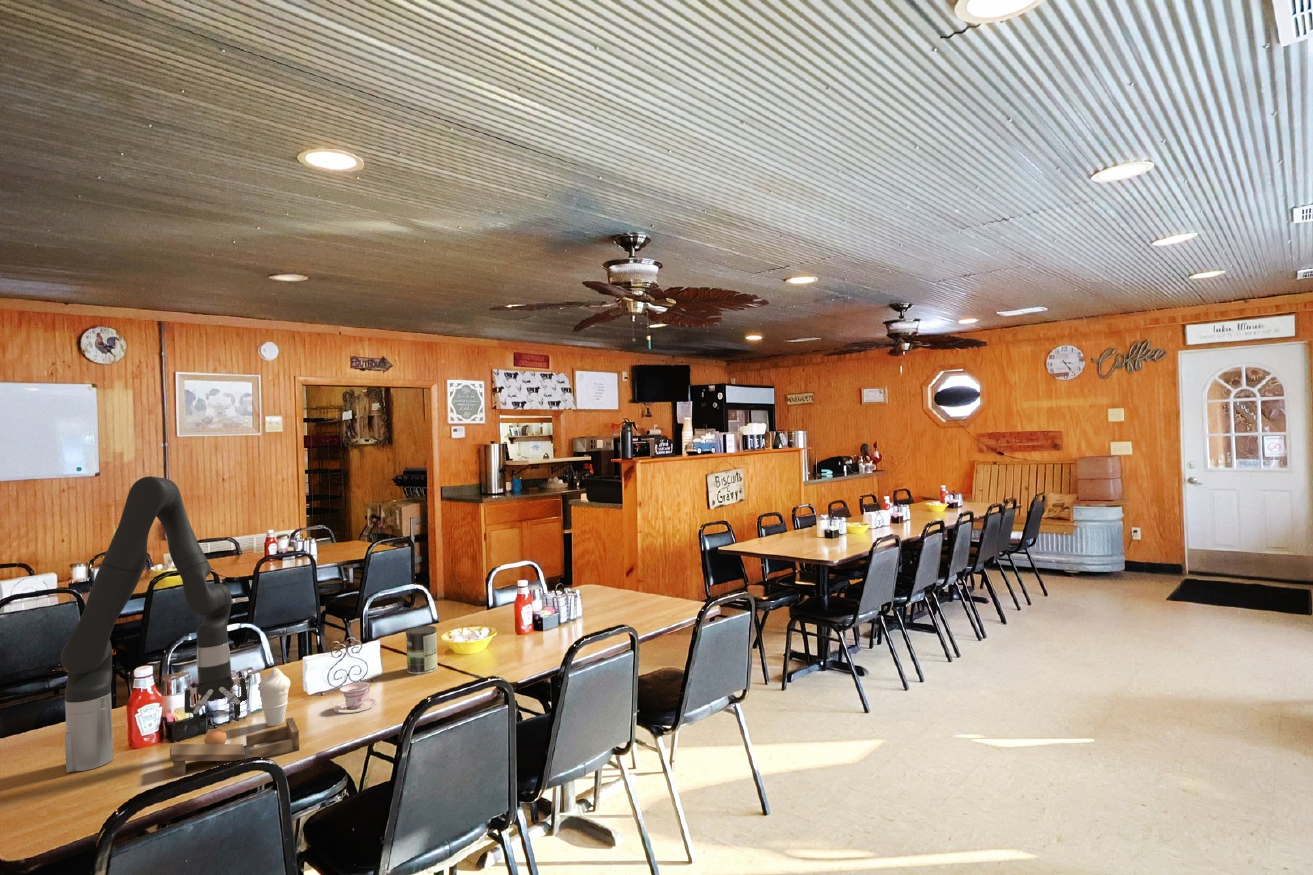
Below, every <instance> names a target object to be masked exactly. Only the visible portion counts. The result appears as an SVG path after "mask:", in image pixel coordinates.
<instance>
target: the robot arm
mask: <svg viewBox="0 0 1313 875" xmlns="http://www.w3.org/2000/svg"><path fill="white" fill-rule="evenodd" d="M156 518H157V520H159V523H160V524H161V526H162V528H163V530H164V533H165V536H166V539H167V540H166V541H167V547H168V552H169V556H170V559H171V561H172V563H173V565H174V567H175V569H176V571H177V573H178V575H179V577H180V578H181V580H182V581H181V583H182V588H183V593H184V599H185V604H186V605H187V607H188V609H189V610H190V612H192V613H193V614H195V615H197V616H201V617H202V616H204V619H203V621H202V622H201V623H200V624H199V625H198V626H197V628H196V649H197V650H196V666H197V667H196V669H197V681H198V683H197V687H192V688H190V687H186V688H185V689H184V707H183V708H184V713H185V714H192V721H193V725H194V727H196V728H200V727H201V715H200V710H201V709H202V707H204V706H205V704H206V702H209V703H210V702H214V701H216V700H218V699H223V698H225V697H227V698H229V699H230V700H231V701H233V702H234V703H233V704H234V712H233V716H234V720H236V719H239V717H240V716H241V712H240V703H241V702H242V701H245V700H247V699H248V697H247V689H246V682H245V678H244V677H243V676H242V677H240V678H239V679H235V680H233V679H232V677H233V676H232V665H231V650H230V646H229V636H228V635H229V633H228V632H229V631H228V624H229V621H230V620H229V619H230V614H231V609H232V603H233V600H232V599H233V598H232V594H231V591H230V589H229V587H228V586H226V585H224V584H223V583H214V584H211V585H208V582H207V577H208V576H210V575H211V573H212V566H211V564H210V563H209V561H208V559H207V557H206V555H205V553H204V551H203V549H202V547H201V545H200V544H199V541H198V539H197V537H196V534H195V533H194V530H193V529H192V525H191V523H190V521H189V517H188V515H187V511H186V509H185V504H184V501H183V498H182V495H181V492H180V489H179V487H178V485H177V484H176V483H175V482H174V481H172V480H171V479H169V478H164V477H158V476H152V475H151V476H143V477H141V478H139V479H138V480H136V481H135V482H134V483H133V484H132V486H131V487H130V489H129V492H128V494H127V497H126V500H125V504H124V507H123V510H122V513H121V516H120V520H119V522H118V526H117V528H116V530H115V532H114V534H113V537H112V539H111V541H110V543H109V546H108V549H107V550H106V553H105V555H104V556H103V559H102V560H101V563H100V565H99V567H98V569H97V572H96V574H95V577H94V580H93V583H92V586H91V588H90V590H89V594H88V597H87V599H86V603H85V606H84V609H83V612H82V613H81V614H82V615H81V616H80V619H79V621H78V622H77V624H76V627H75V628H74V630H73V632H72V633H71V636H70V637H69V639H68V641H67V642H66V644H65V645H64V647H63V649H62V651H61V654H60V661H61V665H62V667H63V668H64V669H65V670H66V671H67V679H66V687H65V689H64V703H65V704H64V706H65V730H66V731H65V733H64V745H65V746H64V747H65V748H64V749H65V770H66V771H65V773H70V772H71V773H72V772H82V771H83V772H85V771H89V770H93V769H96V768H99V767H102V766H105V765H106V764H109V763H111V762H112V761H113V760H114V745H113V744H114V743H113V742H114V741H113V740H114V738H113V716H112V715H113V712H112V710H113V709H112V685H111V684H112V680H113V679H112V678H113V649H112V643H111V640H110V638H111V636H112V633H113V629H114V626H115V624H116V622H117V620H118V618H119V616H120V614H121V613H122V611H124V608H125V607H126V606H127V604H128V602H129V601H130V599H131V597H132V595H133V594H134V592H135V590H136V589H137V588H136V587H137V586H138V584H139V582H140V579H141V577H142V574H143V573H144V572H143V571H144V570H145V566H146V564H147V559H148V558H147V557H148V542H149V540H148V539H149V534H150V530H151V528H152V525H153V524H154V522H155V520H156ZM234 684H237V686H238V687H241V696H240V697H237V696H236V695H235V694H234V693H233V692H232V691H230V690H231V688H232V687H233V685H234ZM195 693H197V694H198V695H199V699H198V700H197V701H196V703H195V705H194V706H191V698H192V697H194V695H195Z"/></svg>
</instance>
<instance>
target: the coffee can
mask: <svg viewBox="0 0 1313 875" xmlns="http://www.w3.org/2000/svg"><path fill="white" fill-rule="evenodd" d="M437 630H438V629H437V627H436V626H432V625H422V626H415V627H411V628H409V629H407V630H405V639H406V660H407V661H406V665H407V667H406V668H407V673H408V674H409V673H410V675H424V674H425V673H426V674H429V672H430V673H432V672H435V671H437V670H438V669H439V667H438V646H437V645H438V642H437V638H438V637H437Z"/></svg>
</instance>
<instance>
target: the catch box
mask: <svg viewBox="0 0 1313 875" xmlns="http://www.w3.org/2000/svg"><path fill="white" fill-rule="evenodd" d="M285 720H286V721H285V722H286V723H285V724H286V726H281V727H276V728H272V729H266V730H263V731H257V732H254V733H250V734H249V733H248V734H246V735H245V741H246V742H245V743H246V744H245V745H243V746H244V751H245V758H244V759H246V758H251V757H264V759H269V758H272V757H276V756H280V755H285V754H289V753H292V752H297V751H300V730H299V729H298V726H297V723H296V721H295V720H294V717H293V716H291V717H287V718H285Z"/></svg>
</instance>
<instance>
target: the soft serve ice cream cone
mask: <svg viewBox="0 0 1313 875" xmlns="http://www.w3.org/2000/svg"><path fill="white" fill-rule="evenodd" d="M260 680H261V682H260V683H259V684H258V685H259V687H258V690H259V691H260V697H261V702H262V703H261V708H262V711H263V714H264V717H265V721H266V725H267V727H276V726H280V725H282V724H284V722H285V720H286V712H287V706H288V704H289V700H288V695H289V691H290V690H289V689H290V686H291V680H290V679H289V677H288V676H286V675H284V673H283V672H282V671H281V670H280V669H279V668H277V667H273V668H272V670H271V672H270V673H269V674H267V675H265V676H264V677H263V678H261V679H260Z"/></svg>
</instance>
